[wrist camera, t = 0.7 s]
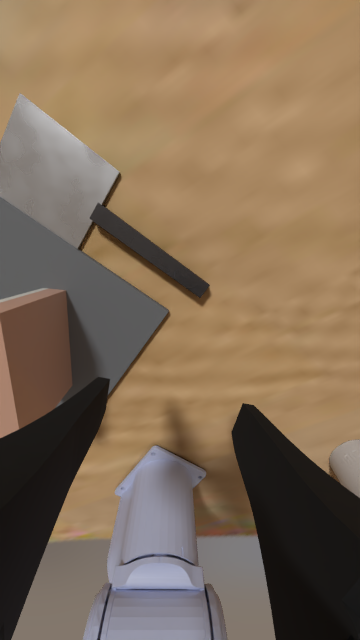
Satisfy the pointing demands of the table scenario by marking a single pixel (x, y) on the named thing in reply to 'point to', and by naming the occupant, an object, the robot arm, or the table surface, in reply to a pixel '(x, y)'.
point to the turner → (69, 187)
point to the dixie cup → (347, 465)
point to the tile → (33, 356)
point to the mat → (78, 298)
